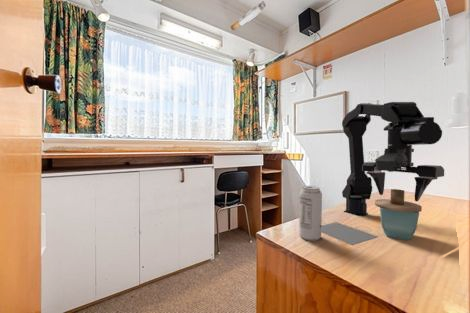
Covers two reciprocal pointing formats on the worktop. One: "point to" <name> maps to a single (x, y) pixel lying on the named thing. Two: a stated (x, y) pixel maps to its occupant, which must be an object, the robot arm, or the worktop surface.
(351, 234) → the mat
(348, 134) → the robot arm
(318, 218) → the energy drink can
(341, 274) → the worktop surface
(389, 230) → the flower pot
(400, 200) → the lid
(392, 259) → the worktop surface
